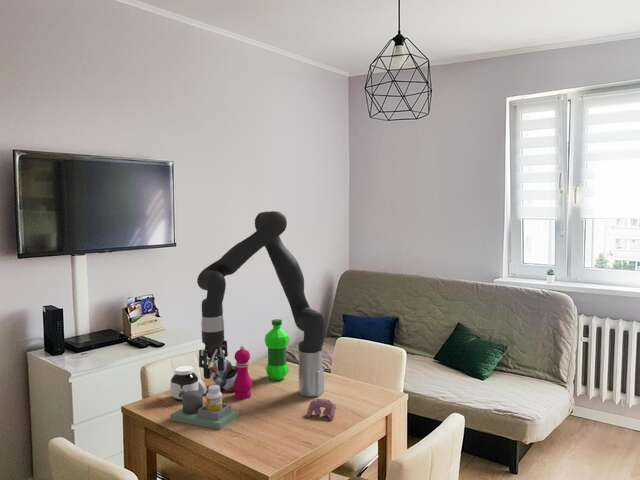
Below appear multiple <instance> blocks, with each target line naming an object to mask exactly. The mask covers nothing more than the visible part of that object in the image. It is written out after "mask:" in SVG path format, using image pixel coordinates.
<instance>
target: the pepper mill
mask: <svg viewBox="0 0 640 480" xmlns="http://www.w3.org/2000/svg"><path fill="white" fill-rule="evenodd" d="M250 359H251V353H250V351H249V350H248V349H245V346H244V345H240V347H239V350H237V351H236V352H235V353H234V360H235V366H237V376H236V378H235V380H234V385H233V387H234V389H235V390H236V391H235V392H234V398H236V399H238V400H246V399H249V398H251V397H252V391H251V390H252V387H253V382H252V378H251V376H250V374H249V367H250V362H249V360H250Z"/></svg>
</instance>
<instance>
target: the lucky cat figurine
mask: <svg viewBox="0 0 640 480" xmlns="http://www.w3.org/2000/svg"><path fill="white" fill-rule="evenodd" d="M217 360H218V359H217V357H216V358H214V361H213V362H212V363H211V366H210V373H211V378H210V379H211V380H212V381H213V383H215V385H219V386H220V388H222V389H224V390H225V391H227V392H229V393H235V391H236V390H235V389H234V387H233V385H234V380H235V378H236V376H237V366H236V365H233V364H232V362H231V361H230V360H229V359H226V358H225V360H224V371H218V364H217Z"/></svg>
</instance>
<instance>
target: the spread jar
mask: <svg viewBox="0 0 640 480" xmlns="http://www.w3.org/2000/svg"><path fill="white" fill-rule="evenodd" d="M174 369H175V370H174V375H173V376H172V377H171V379H170V394H171V397H172V398H173V399H174V400H175V401H177V402H182V394H183V393H184V392H187V391H192V390H198V391H201V392H203V395H204V394H207V393H208V392H207V391H208V388H207V386H206V383H205V382H204V381H203V380H202V379H201V378H200V377H198V375H197V374H196V373H195V372H194V367H193V366H191V365H183V366H182V365H181V366H178V367H175V368H174Z"/></svg>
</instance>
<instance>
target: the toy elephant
mask: <svg viewBox="0 0 640 480" xmlns="http://www.w3.org/2000/svg"><path fill="white" fill-rule="evenodd" d="M322 408H324V409H323V411H322ZM336 409H337V405H336V403H334V402H333V401H332V400H330V399H327V398H316V399H313V400H311V401H310V403H309V405H308V407H307V411H306V417H307V418H310V417H311V416H312V414H313V412H314V414H315V415H316V416H321V414H323V416H324V417H329V420H330V421H333V419H334V418H335V413H336Z"/></svg>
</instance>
